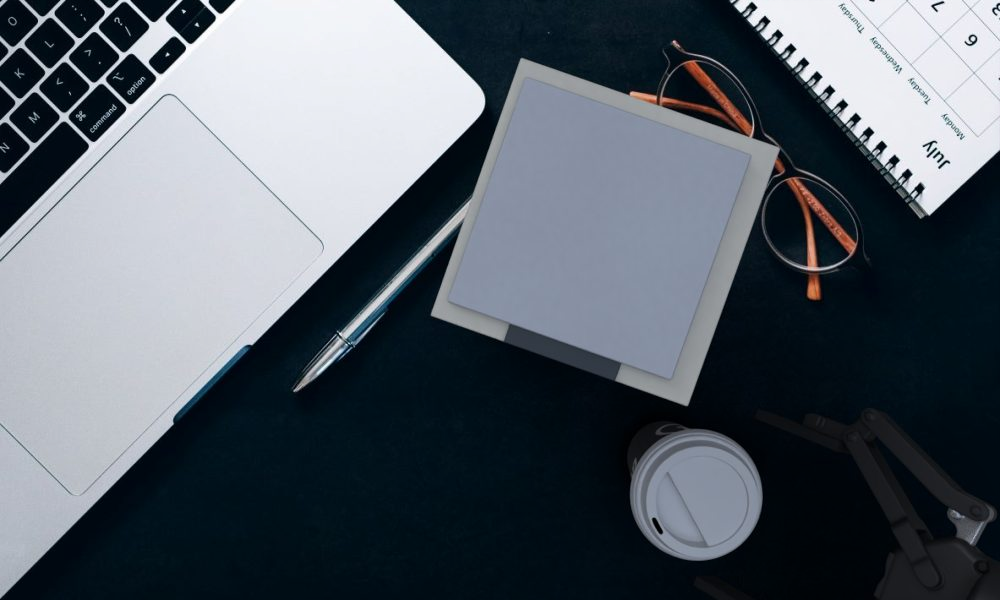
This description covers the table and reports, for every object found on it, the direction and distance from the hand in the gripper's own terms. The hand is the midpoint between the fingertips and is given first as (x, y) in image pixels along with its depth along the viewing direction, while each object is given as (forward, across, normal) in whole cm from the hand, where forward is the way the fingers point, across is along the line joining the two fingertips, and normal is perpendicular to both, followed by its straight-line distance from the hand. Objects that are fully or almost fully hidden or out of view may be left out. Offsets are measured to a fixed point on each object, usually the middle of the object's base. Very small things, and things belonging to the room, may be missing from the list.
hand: (733, 497), depth 63 cm
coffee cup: (+9, 0, -4) cm, 10 cm away
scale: (-1, +14, +26) cm, 30 cm away
